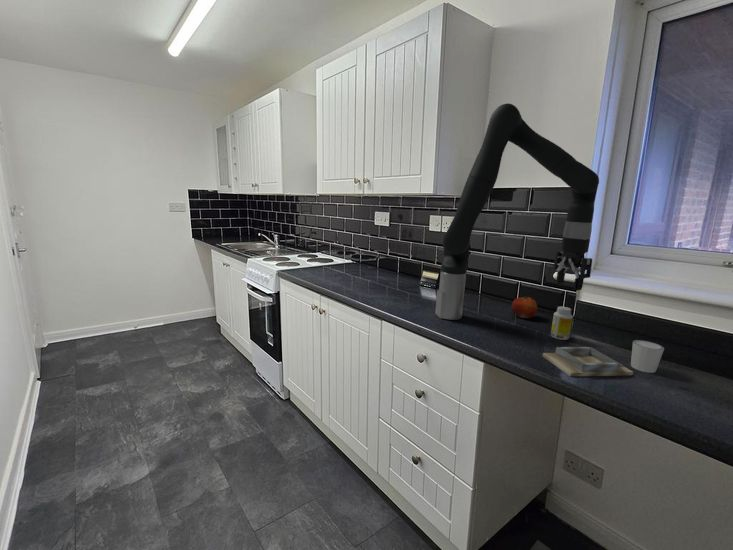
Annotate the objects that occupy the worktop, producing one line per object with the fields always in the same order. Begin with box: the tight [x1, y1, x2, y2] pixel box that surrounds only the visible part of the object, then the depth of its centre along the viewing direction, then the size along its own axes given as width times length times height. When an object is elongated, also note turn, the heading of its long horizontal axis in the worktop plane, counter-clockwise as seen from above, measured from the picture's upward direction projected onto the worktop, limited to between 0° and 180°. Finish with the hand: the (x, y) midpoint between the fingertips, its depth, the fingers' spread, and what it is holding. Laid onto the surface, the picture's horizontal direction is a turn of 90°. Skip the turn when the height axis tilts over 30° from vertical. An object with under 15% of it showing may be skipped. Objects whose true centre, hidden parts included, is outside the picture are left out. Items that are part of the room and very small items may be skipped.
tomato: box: [511, 296, 538, 319], centre depth 139 cm, size 9×9×8 cm
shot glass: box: [630, 339, 665, 374], centre depth 99 cm, size 7×7×7 cm
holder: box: [542, 346, 634, 377], centre depth 99 cm, size 18×12×3 cm, turn 97°
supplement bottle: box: [550, 306, 574, 341], centre depth 119 cm, size 6×6×10 cm
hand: (568, 286), depth 116 cm, fingers open, 8 cm apart
